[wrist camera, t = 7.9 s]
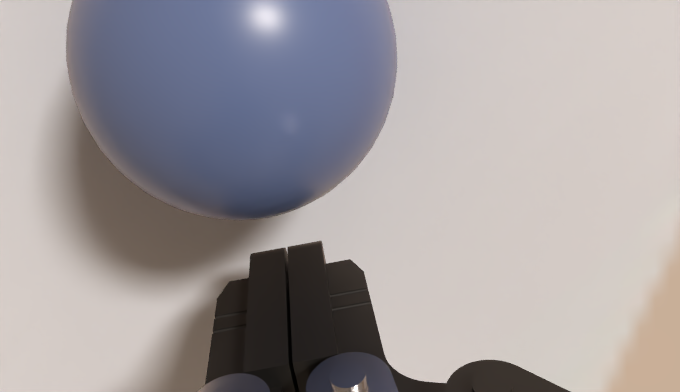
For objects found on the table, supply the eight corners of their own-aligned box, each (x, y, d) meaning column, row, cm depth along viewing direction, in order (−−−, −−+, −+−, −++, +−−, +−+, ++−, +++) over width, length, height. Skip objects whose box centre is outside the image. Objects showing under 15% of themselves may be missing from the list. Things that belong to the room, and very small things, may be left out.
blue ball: (138, 293, 10) (139, 77, 13) (421, 241, 10) (367, 37, 13) (-41, 116, 6) (13, -159, 8) (450, 31, 6) (359, -214, 9)
